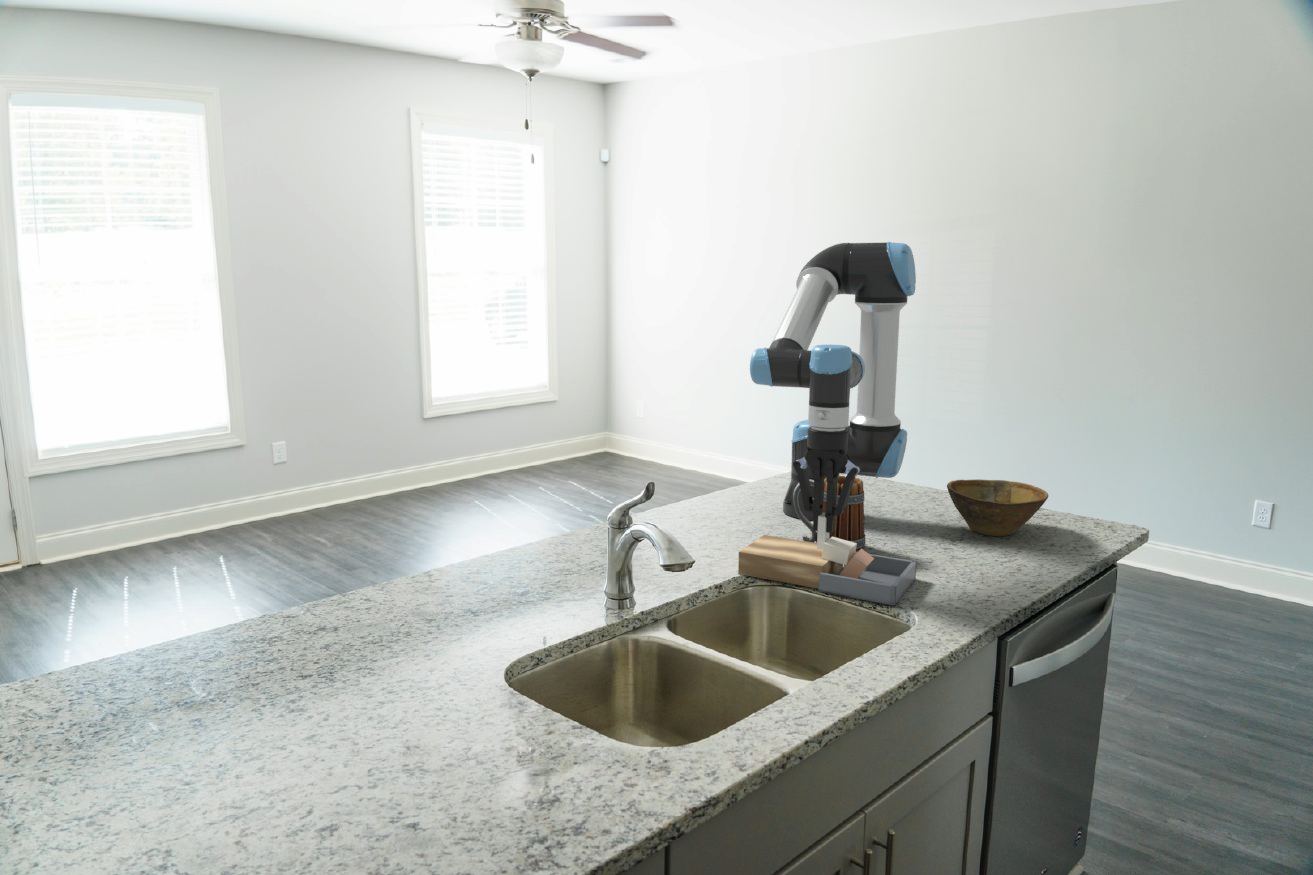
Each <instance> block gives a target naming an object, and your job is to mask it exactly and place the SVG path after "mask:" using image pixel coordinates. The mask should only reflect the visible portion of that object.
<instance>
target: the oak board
mask: <svg viewBox="0 0 1313 875" xmlns="http://www.w3.org/2000/svg"><path fill="white" fill-rule="evenodd" d="M822 551H823V550H820V549H817V543H816V542H814V543H813V542H807V541H803V540H799V539H794V538H793V539H792V538H788V537H787V538H786V537H783V536H782V537H781V536H774V535H768V534H763V535H762V536H760V537H759V538H757V539H756V540H754V541H753V542H751V543H749V544H748V545H747V546H746V547H744V548H742V549H741V550H740V551H738V568H737V569H738V572H737V573H738V575H743V576H748V577H749V576H750V577H755V578H759V579H765V580H770V581H775V582H781V583H787V584H790V585H791V584H792V585H797V586H802V587H807V588H808V587H809V588H814V589H818V590H819V578H820V573H821V572H822V573H827V574H833V575H835V574H836V573H837V572H838V571H839V570H840V569H841V568H842V567H844V564H840V563H837V562H833V561H830V560H826V559H823V558H821V557H822Z"/></svg>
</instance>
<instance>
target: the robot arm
mask: <svg viewBox="0 0 1313 875" xmlns="http://www.w3.org/2000/svg"><path fill="white" fill-rule="evenodd" d="M916 274H917V273H916V263H915V259H914V255H913V251H912V248H911V247H910V246H909V245H908V244H907V243H904V242H891V241H887V242H842V243H837V244H833V245H831V246H828V247H826V248H824V249H823V250H821V251H820V252H818V253H817V254H815V255H814V256H813V257H812V258H811V259H810V260H809V261H807V263H806V264H805V265H804V266H803V267H802V268H801V270H800V272H799V274H798V276H797V279H796V282H795V283H796V285H795V286H796V291H795V293H794V295H793V297H792V300H791V302H790V304H789V306H788V307H787V310H786V312H785V314H784V317H783V319H782V321H781V323H780V325H779V327H778V329H777V332H776V333H775V335H774V337H773V340H772V342H771V344H770V346H769V347H763V348H761V347H760V348H757V349H754V350H753V352H752V353H751V357H750V360H749V361H750V362H749V374H750V378H751V380H752V382H753V384H756V385H760V386H761V385H762V386H770V387H779V388H780V387H783V388H784V387H786V388H803V389H808V390H809V391H808V394H809V395H808V397H809V398H808V418H807V419H804V420H801V421H798V422H796V424H794V425H793V429H792V439H791V469H790V470H791V471H790V472H791V474H790V483H789V485H788V488H787V490H786V494H785V497H784V499H783V502H782V512H783V513H784V514H785V515H787V516H789V517H791V518H792V517H793V518H796V519H800V518H799V517H798V515H797V513H796V511H795V507H794V501H793V493H794V490H795V487H796V486H797V484H798V483H799V484H800V489H801V490H800V492H799V495H798V503H799V508H800V510H801V512H802V514H803V515H804V516H805V517H806V518H807V519H808V520H809V521H812V524H813V529H814V531H816V532H817V531H818V534H817V549H820V550H823V545H824V543H825V542H826V541H827V540H829V533H832V532H833V531H834V527H835V516H836V515H840V514H842V513H843V512H844V511H845V509H846V506H847V502H848V499H849V496H850V493H851V489H852V486H853V483H854V479H855V478H857V476H862V477H863V476H864V477H871V478H872V477H873V478H876V479H878V478H882V479H883V478H886V479H890V478H891V479H892V478H894V477H896V476H898V474H899V473H900V470H901V468H902V464H903V460H904V457H905V452H906V447H907V441H908V432H907V430H906V429H904V428H901V425H902V424H901V423H902V421H901V419H899V418H898V416H896V414H895V410H896V407H895V405H896V392H897V390H896V389H897V386H896V385H897V373H898V372H897V371H898V370H897V369H898V368H897V367H898V350H899V348H898V347H899V332H900V331H899V330H900V316H901V315H900V312H901V310H902V309H903V308H904V307H905V306H906V305H907V304H908V297H910V296H911V297H912V296H913V295H915V293H916V283H917V280H916V279H917V277H916V276H917V275H916ZM837 295H851V296H852V295H854V304H855V305H856V306H857V307H858V308H859V309H860V330H859V352H855V351H852V349H851V347H850V346H847V345H843V344H818V345H815V346H813V347H812V349H811V350H809V347H810V346H811V343H812V341H813V339H814V336H815V334H816V332H817V329H818V327H819V326H820V322H821V321H822V318H823V316H824V314H825V312H826V309H827V306H828V305H829V303H831V302H833V300H834V299H835V298H836V296H837ZM858 353H859V354H858ZM856 387H857V400H856V402H857V403H856V413H855V414H854V415H853V416H852V417H850V397H851V389H853V388H856ZM840 474H841V475H845V480H844V483H843V487H842V490H841V493H840V497H839V500H838V504H837V507H836V500H837V480H838V476H840ZM826 477H827V478H826ZM825 478H826V481H827V498H826V513H822V512H823V511H824V509H823V499H824V479H825ZM809 479H811V480H814V487H813V486H811V485H810V480H809Z"/></svg>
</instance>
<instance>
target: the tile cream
mask: <svg viewBox="0 0 1313 875" xmlns="http://www.w3.org/2000/svg"><path fill="white" fill-rule="evenodd" d="M856 547H857V543H854V542H850V541H846V540H843V539H839V538H836V537H831V538H830V539H829V540H827V541H826V542H825V543H824V545H823V551H822V557H821V558H823V559H826V560H830V561H833V562H837V563H840V564H843V566H844V565H847V564H848V563H849V562H850V560H851V559H852V558H853V556H854V555H855V552H856Z"/></svg>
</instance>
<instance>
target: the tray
mask: <svg viewBox="0 0 1313 875" xmlns="http://www.w3.org/2000/svg"><path fill="white" fill-rule="evenodd" d="M856 553H857V552H855V554H856ZM868 554H869V555H871V556H872V557H873V558H874V560H873V561H872V562H871V564H870V565H869V566H868V567H867V569H866V570H865V571H864V573H863V574H862V575H861V576H860V578H859V579H856V578H850V577H844V576H840V573H841V572H842V571H843V569H844V568H845V567H846V565H844V564H843V567H842V568H841V569H840V570H839V571H838V572H837V573H836V574H835V575H833V574H827V573H822V572H821V573H820V578H819V589H818V592H819V593H825V594H830V595H835V596H840V597H846V598H852V599H856V600H862V601H866V602H873V603H878V604H883V605H889V606H896V604H897V603H898V601H900V599H902V596H904V594H905V593H906V591H908V589H909V588H910V586H911V585H912V584H913V583H914V582H915V581H916V579H917V578H916V575H917V562H918V561H917V560H916V561H915V560H910V559H905V558H904V559H903V558H896V557H891V556H884V555H878V554H871V553H868Z"/></svg>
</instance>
